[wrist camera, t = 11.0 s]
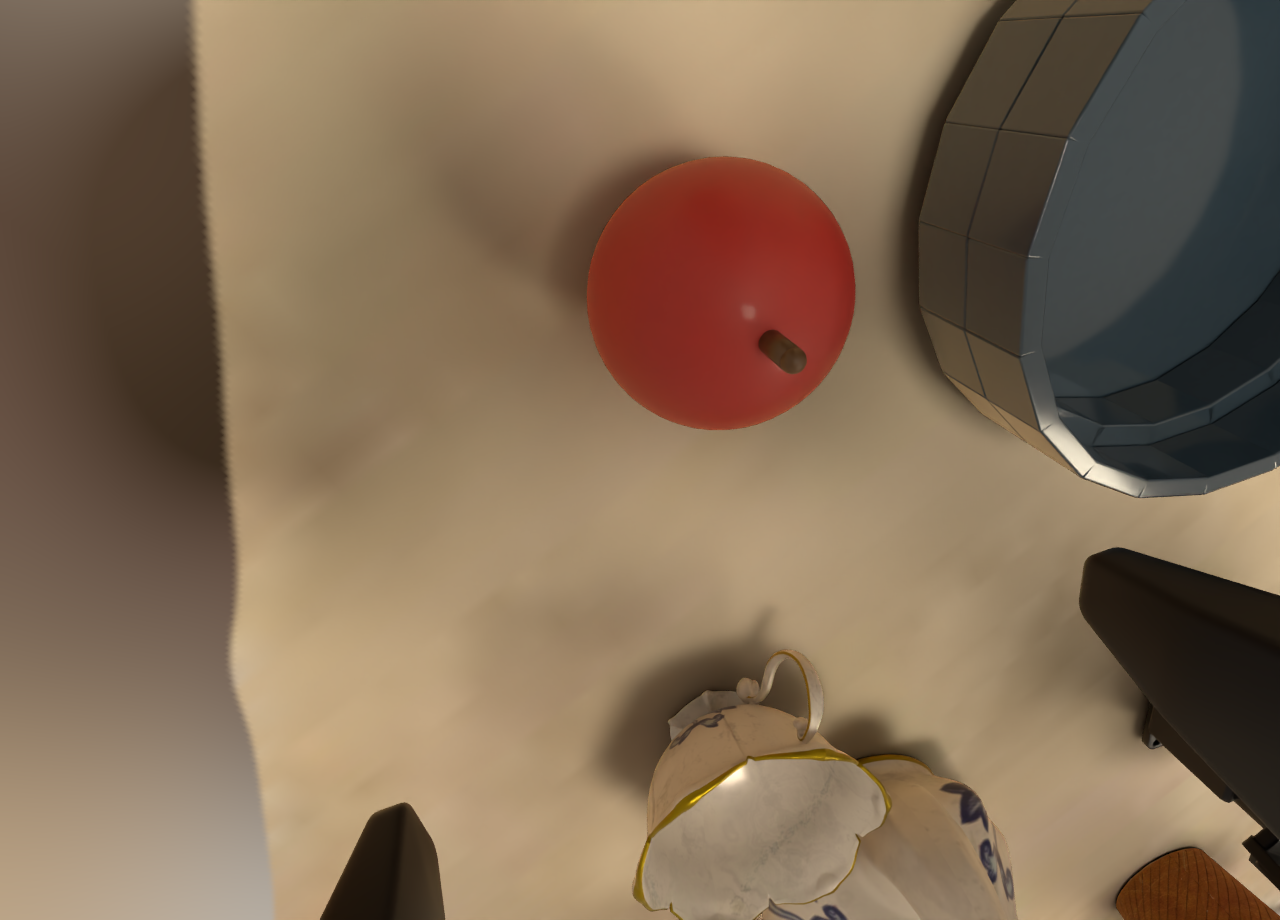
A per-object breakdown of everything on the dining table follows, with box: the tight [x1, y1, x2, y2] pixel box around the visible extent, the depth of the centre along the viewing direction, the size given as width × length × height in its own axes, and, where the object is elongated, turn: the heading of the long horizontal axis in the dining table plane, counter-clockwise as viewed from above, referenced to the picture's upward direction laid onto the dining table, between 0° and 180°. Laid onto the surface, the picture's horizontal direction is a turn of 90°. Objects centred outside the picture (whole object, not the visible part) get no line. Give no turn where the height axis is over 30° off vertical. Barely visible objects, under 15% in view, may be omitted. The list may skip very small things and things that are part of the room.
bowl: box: [918, 0, 1280, 498], centre depth 20 cm, size 15×15×5 cm
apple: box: [587, 156, 855, 430], centre depth 16 cm, size 6×6×7 cm
